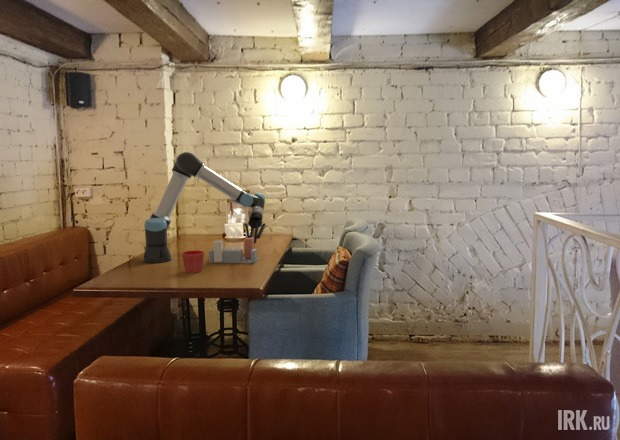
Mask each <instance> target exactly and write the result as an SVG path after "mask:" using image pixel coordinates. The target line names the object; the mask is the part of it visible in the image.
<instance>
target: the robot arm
mask: <svg viewBox="0 0 620 440" xmlns="http://www.w3.org/2000/svg"><path fill="white" fill-rule="evenodd" d="M171 172H172V176H171V178H170V180H169V183H168V185H167V186H166V188H165V190H164V193H163V194H162V197H161V200H160V202H159V204H158V206H157V208H156V211H154V212H152V214H151V216H150V217H149V218H148V219H146V220H145V221H144V232H145V236H144V237H145V250H144V252H143V257H142V258H143V262H144V263H145V264H146V263H148V264H151V263H153V264H157V263H158V264H159V263H165V262H169V261H171V260H172V254H171V252H170V249H169V246H168V230H169V227H170V224H171V223H172V219H171V216H172V214H173V212H174V210H175V207H176V205H177V203H178V201H179V199H180V196H181V194H182V192H183V189H184V187H185V185H186V184H187V181H188V180H190V179H191V178H192V177H194V178H199V179H200V180H202V181H203V182H205V183H207V184H208V185H210V186H211V187H212V188H214V189H216V190H217V191H219V192H220V193H222V194H224V196H227V197H229V198H231V200H232V202H233V203H235V204H238V205H241V206H243V207H245V208H247V207H248V208H251V209H250V216H249V220H248V222H246V223H245V222H244V228H245V231H246V238H253V242H254V245H255V244H257V239H258V240H259V239H261V236H262V235H263V232H264V230H265V228H266V227H267V225H266V223H264V222H263V219H264V218H263V217H264V216H263V215H264V208H265V203H266V197H265V195H264V194H263V193H262V192H261V193H258V192H256V193H254V194H250V193H248V192H246V191H245V190H243V189H242V188H240V187H239V186H237V185H236V184H234V183H232V182H231V181H229V180H227V179H226V178H224V177H223V176H221V175H220V174H219V173H217V172H216V171H214V170H212V169H211V168H209V167H208V166H206V165H205V162H203V161H201V160H200V159H199V158H198V157H197V156H196V155H194V154H193V153H191V152H189V151H187V152H186V151H185V152H181V153H180V154H179V155H177V157H176V160H175V163H174V165H173V166H172V169H171ZM249 227H250V230H249ZM249 231H250V232H249Z"/></svg>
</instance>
